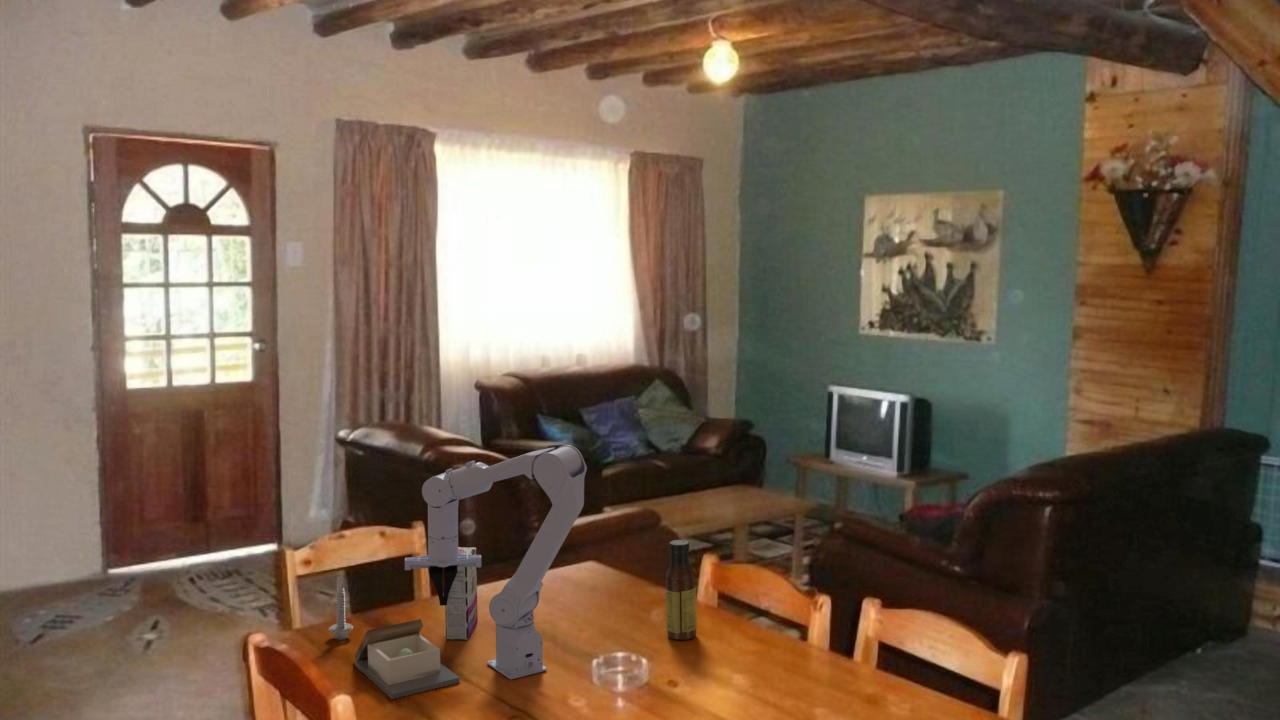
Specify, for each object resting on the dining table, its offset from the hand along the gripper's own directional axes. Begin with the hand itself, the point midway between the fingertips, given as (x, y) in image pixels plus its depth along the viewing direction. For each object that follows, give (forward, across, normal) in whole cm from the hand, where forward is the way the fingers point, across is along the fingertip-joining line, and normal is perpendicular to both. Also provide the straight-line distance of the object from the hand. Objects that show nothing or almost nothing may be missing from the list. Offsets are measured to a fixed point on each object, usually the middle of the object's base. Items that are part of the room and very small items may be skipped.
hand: (443, 603), depth 204 cm
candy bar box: (+11, +4, +13) cm, 17 cm away
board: (+10, -7, -8) cm, 15 cm away
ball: (+9, -7, -8) cm, 14 cm away
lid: (+7, -10, -2) cm, 12 cm away
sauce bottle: (+10, +48, +3) cm, 49 cm away
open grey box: (+10, -7, -9) cm, 15 cm away
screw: (+11, -21, +13) cm, 27 cm away
